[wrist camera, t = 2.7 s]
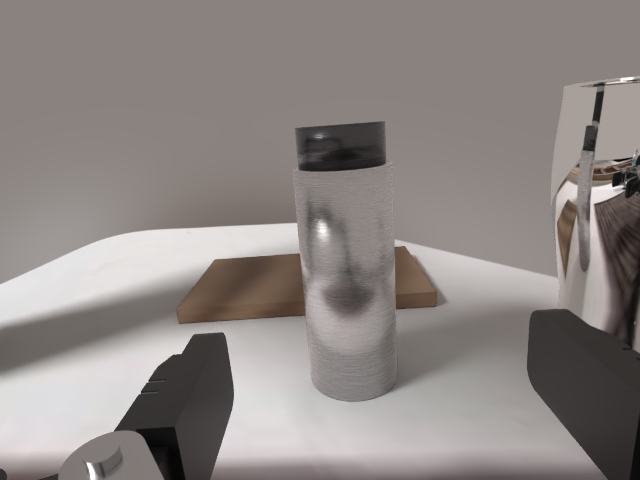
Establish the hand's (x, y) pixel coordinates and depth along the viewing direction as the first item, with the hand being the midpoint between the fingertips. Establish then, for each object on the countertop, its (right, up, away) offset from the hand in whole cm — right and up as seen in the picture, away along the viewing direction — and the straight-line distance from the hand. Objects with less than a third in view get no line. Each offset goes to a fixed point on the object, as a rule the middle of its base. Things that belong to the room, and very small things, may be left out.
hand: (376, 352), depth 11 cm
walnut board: (-3, -1, +27) cm, 27 cm away
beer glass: (+14, -4, +12) cm, 19 cm away
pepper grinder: (0, -5, +13) cm, 14 cm away
